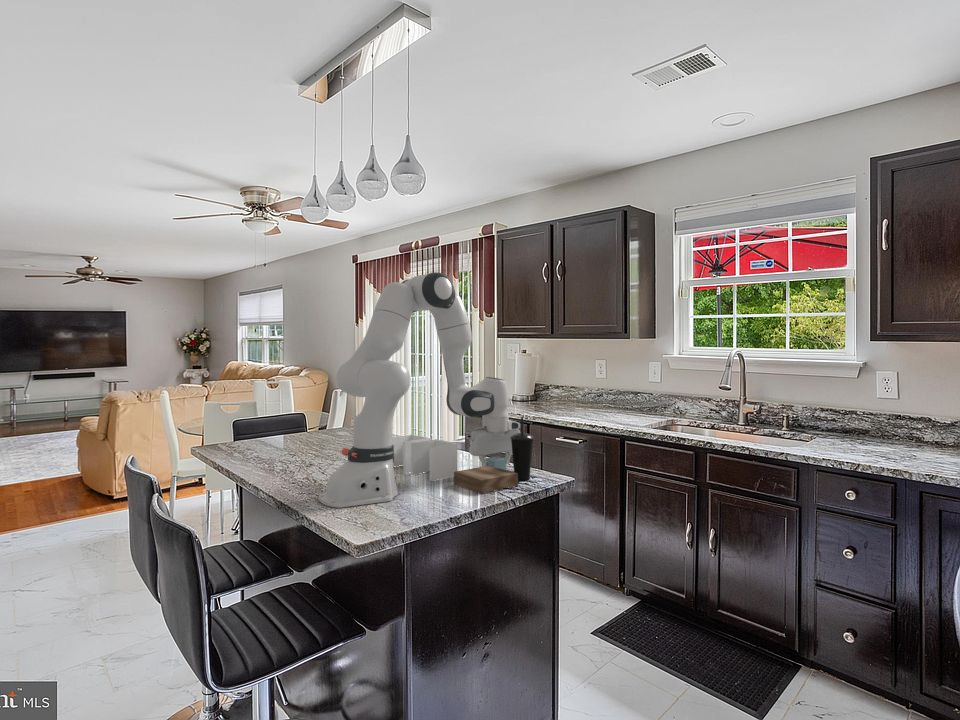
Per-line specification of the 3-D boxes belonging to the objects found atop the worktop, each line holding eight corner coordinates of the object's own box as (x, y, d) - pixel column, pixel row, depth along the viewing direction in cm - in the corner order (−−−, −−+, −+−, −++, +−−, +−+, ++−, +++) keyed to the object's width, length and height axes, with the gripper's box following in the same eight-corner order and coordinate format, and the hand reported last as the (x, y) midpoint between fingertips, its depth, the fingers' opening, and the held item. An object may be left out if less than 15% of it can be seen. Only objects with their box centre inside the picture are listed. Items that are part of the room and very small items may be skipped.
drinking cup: (535, 481, 176) (535, 418, 175) (511, 481, 175) (510, 418, 175) (532, 475, 183) (532, 415, 183) (509, 476, 183) (509, 415, 183)
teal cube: (494, 475, 184) (494, 460, 184) (485, 473, 188) (485, 458, 188) (506, 473, 187) (506, 458, 187) (496, 470, 191) (496, 456, 191)
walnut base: (481, 493, 161) (481, 480, 161) (454, 484, 172) (454, 471, 172) (517, 486, 170) (517, 473, 170) (489, 477, 181) (489, 465, 181)
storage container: (457, 475, 184) (457, 443, 184) (431, 481, 177) (431, 447, 176) (411, 464, 202) (411, 434, 202) (386, 469, 195) (385, 438, 194)
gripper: (476, 429, 179) (477, 472, 179) (523, 423, 191) (524, 463, 192) (465, 427, 184) (465, 468, 184) (511, 421, 196) (511, 460, 197)
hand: (495, 465), depth 188 cm, fingers open, 8 cm apart
